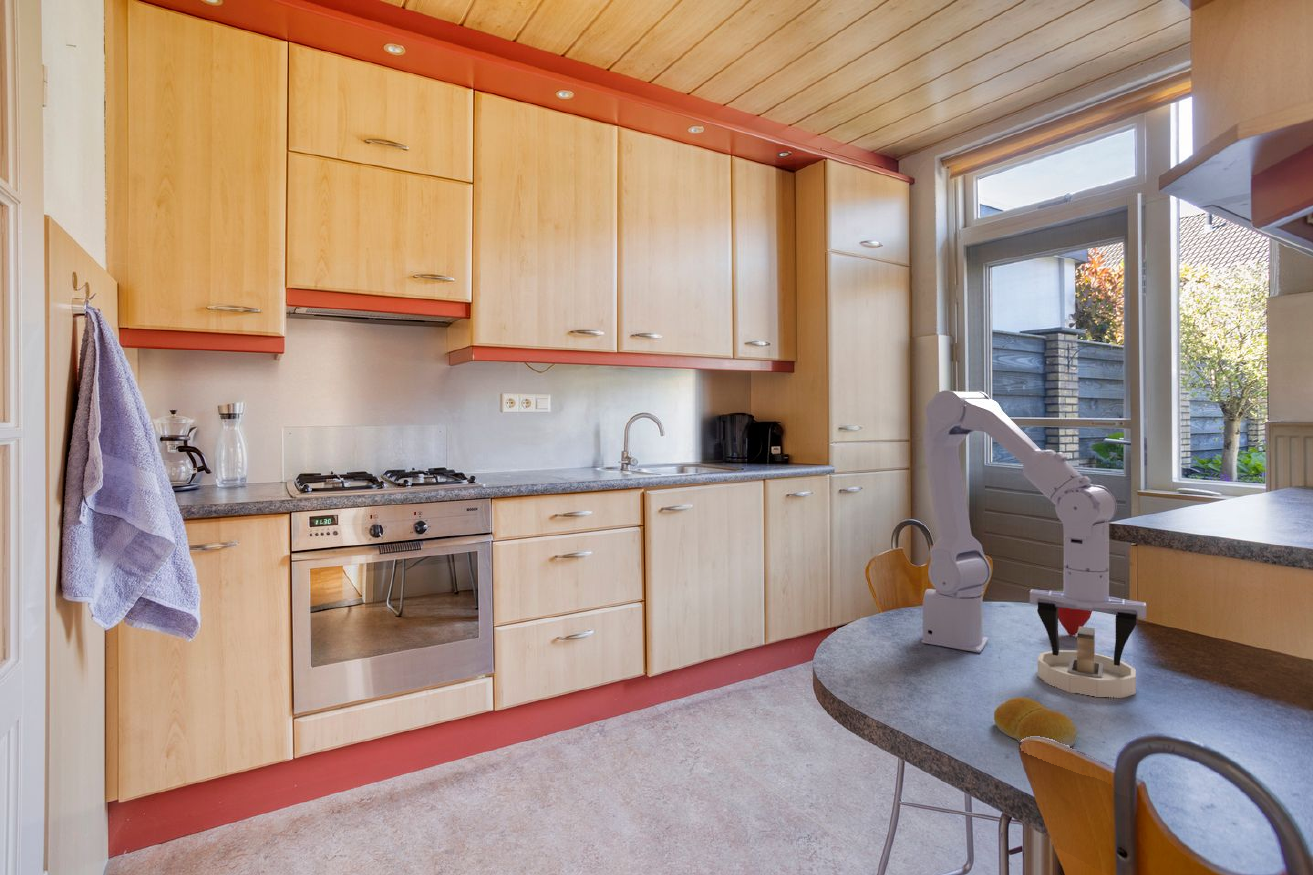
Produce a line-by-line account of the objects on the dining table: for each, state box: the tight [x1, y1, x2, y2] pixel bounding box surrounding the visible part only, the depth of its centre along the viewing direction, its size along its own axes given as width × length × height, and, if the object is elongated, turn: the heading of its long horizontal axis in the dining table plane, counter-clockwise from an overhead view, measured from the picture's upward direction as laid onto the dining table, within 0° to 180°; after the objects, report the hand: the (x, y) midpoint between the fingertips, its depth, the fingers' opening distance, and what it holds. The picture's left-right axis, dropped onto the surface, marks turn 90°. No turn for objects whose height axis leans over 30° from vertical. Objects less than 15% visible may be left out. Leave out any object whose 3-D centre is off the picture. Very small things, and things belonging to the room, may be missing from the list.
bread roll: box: [993, 697, 1077, 747], centre depth 84 cm, size 8×9×4 cm
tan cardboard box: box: [1076, 626, 1096, 674], centre depth 100 cm, size 2×4×7 cm, turn 145°
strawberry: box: [1056, 588, 1093, 637], centre depth 121 cm, size 6×8×10 cm
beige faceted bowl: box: [1037, 649, 1137, 699], centre depth 101 cm, size 12×12×2 cm
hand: (1085, 658), depth 100 cm, fingers open, 7 cm apart
